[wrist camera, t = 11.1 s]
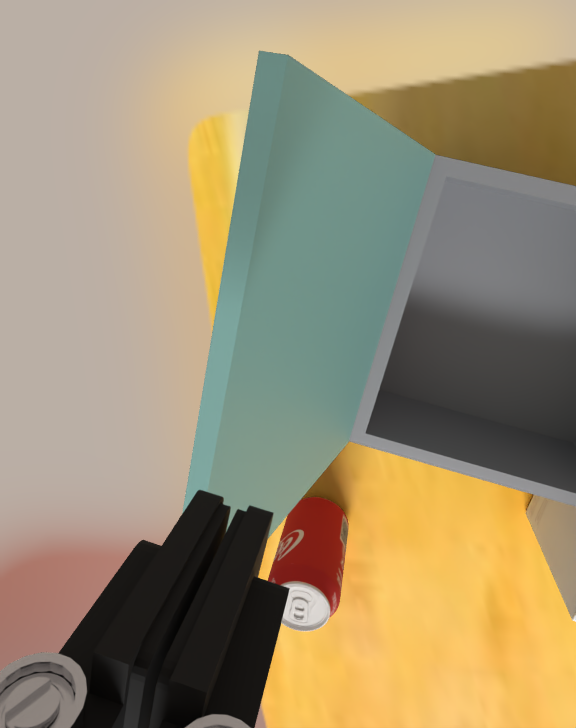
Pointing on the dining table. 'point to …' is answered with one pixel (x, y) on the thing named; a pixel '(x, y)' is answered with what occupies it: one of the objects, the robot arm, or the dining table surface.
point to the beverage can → (311, 562)
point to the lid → (301, 286)
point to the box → (482, 334)
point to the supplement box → (557, 543)
